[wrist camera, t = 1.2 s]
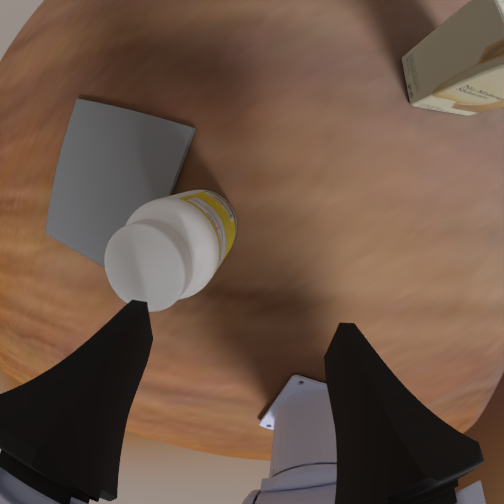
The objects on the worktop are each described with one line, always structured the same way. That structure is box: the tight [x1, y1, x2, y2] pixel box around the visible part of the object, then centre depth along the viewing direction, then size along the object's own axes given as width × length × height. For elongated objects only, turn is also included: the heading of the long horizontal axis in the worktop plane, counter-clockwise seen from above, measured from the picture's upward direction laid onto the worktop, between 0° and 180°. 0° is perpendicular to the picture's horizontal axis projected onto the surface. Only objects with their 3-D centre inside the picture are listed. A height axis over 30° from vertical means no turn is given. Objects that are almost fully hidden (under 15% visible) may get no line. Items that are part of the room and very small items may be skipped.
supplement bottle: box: [104, 190, 237, 312], centre depth 16 cm, size 5×5×10 cm
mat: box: [46, 99, 196, 267], centre depth 20 cm, size 12×13×1 cm
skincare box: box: [402, 0, 504, 115], centre depth 10 cm, size 6×4×12 cm
